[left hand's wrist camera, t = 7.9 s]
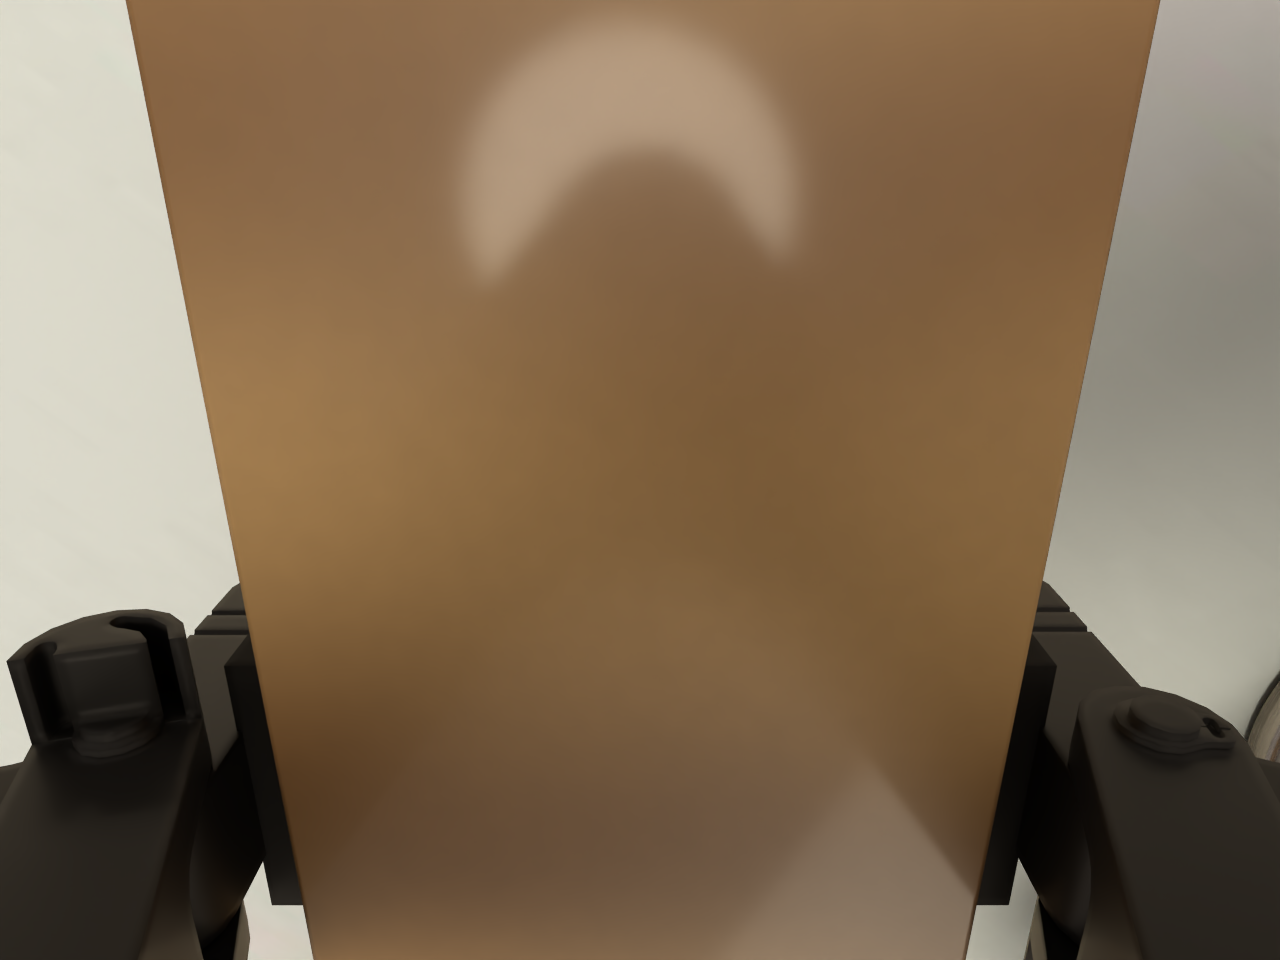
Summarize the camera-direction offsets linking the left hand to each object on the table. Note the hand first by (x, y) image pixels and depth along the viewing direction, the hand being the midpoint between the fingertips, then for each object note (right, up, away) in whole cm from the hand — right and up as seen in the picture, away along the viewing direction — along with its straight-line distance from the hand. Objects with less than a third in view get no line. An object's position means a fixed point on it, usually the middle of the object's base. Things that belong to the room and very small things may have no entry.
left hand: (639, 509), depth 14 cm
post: (0, -27, +12) cm, 29 cm away
